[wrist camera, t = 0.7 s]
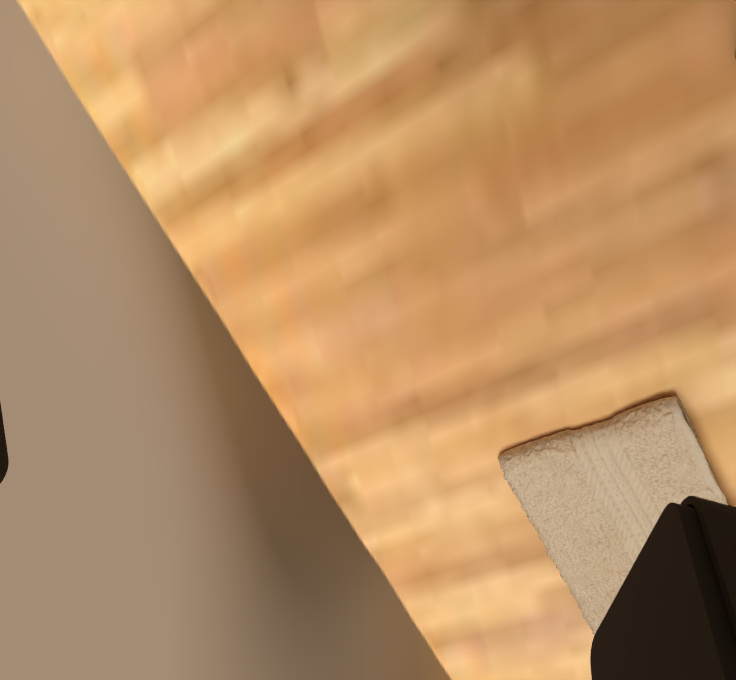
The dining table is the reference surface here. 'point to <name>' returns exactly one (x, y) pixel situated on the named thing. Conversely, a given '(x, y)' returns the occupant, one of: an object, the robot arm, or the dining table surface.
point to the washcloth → (607, 493)
